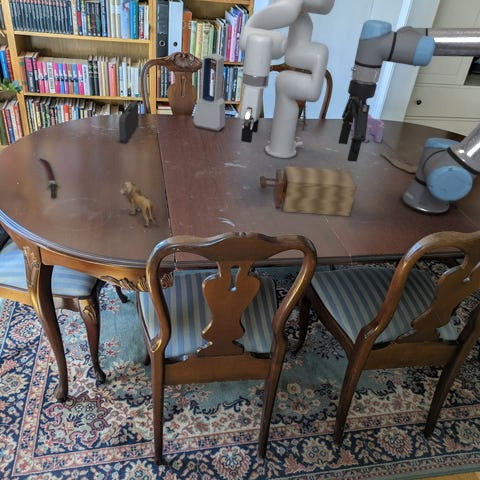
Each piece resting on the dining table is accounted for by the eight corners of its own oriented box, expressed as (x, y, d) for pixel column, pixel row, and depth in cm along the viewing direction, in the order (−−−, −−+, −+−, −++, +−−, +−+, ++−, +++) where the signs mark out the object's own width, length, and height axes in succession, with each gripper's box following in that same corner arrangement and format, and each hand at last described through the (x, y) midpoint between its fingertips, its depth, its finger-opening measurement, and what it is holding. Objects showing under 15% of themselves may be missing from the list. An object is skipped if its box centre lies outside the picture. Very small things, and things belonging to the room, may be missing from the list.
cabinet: (283, 211, 147) (288, 181, 141) (280, 194, 156) (284, 165, 151) (349, 216, 148) (356, 186, 143) (342, 199, 158) (349, 170, 152)
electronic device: (225, 127, 206) (230, 56, 190) (219, 132, 200) (224, 59, 184) (199, 122, 209) (202, 51, 193) (192, 127, 203) (195, 54, 187)
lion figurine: (118, 210, 138) (116, 182, 133) (132, 204, 141) (131, 177, 137) (151, 229, 130) (150, 201, 126) (165, 223, 134) (165, 195, 129)
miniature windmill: (304, 130, 212) (315, 61, 196) (285, 127, 213) (296, 59, 197) (305, 124, 220) (317, 57, 204) (288, 121, 221) (298, 55, 205)
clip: (343, 126, 223) (346, 112, 219) (367, 127, 225) (371, 113, 221) (360, 142, 206) (364, 127, 202) (386, 142, 209) (390, 127, 205)
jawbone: (419, 178, 180) (420, 173, 178) (370, 161, 190) (371, 157, 189) (428, 170, 185) (429, 165, 184) (380, 154, 196) (381, 150, 195)
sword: (61, 197, 141) (61, 193, 140) (50, 198, 139) (50, 194, 139) (49, 160, 164) (48, 156, 163) (39, 160, 163) (39, 157, 162)
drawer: (258, 205, 146) (262, 181, 142) (257, 191, 155) (260, 167, 150) (337, 211, 148) (343, 187, 143) (331, 196, 156) (336, 173, 152)
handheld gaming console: (132, 123, 200) (131, 100, 194) (138, 124, 200) (138, 100, 194) (118, 143, 180) (117, 117, 175) (125, 143, 180) (124, 118, 175)
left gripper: (248, 72, 143) (243, 126, 152) (236, 85, 128) (231, 144, 137) (272, 75, 142) (265, 130, 151) (263, 89, 127) (256, 148, 137)
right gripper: (342, 69, 141) (328, 136, 153) (361, 92, 120) (343, 167, 132) (366, 71, 142) (350, 138, 153) (389, 94, 121) (369, 169, 132)
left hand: (249, 136), depth 144 cm, fingers open, 9 cm apart
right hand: (347, 151), depth 142 cm, fingers open, 13 cm apart
